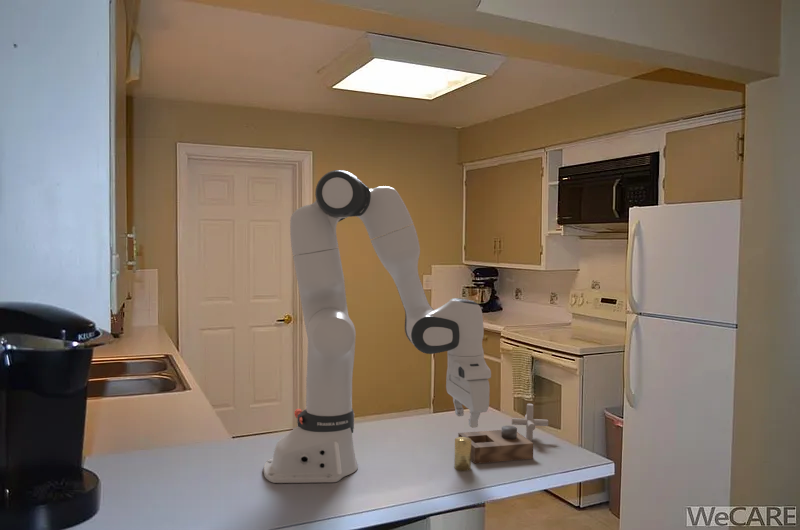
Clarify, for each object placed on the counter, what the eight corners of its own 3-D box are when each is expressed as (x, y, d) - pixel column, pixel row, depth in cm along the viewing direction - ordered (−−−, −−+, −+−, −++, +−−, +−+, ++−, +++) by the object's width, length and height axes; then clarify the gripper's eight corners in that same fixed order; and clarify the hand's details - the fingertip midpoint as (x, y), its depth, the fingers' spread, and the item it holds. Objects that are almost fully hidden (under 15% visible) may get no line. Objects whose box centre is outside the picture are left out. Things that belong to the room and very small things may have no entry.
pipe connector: (544, 434, 174) (545, 400, 174) (550, 446, 164) (550, 410, 164) (509, 433, 175) (510, 399, 175) (512, 444, 165) (513, 408, 165)
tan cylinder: (457, 471, 145) (458, 442, 145) (452, 465, 149) (452, 437, 149) (473, 470, 146) (473, 441, 146) (467, 464, 150) (467, 436, 150)
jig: (474, 463, 151) (475, 438, 151) (458, 447, 162) (458, 424, 162) (533, 458, 155) (533, 434, 155) (512, 443, 166) (513, 420, 166)
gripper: (439, 357, 156) (440, 410, 157) (468, 374, 136) (468, 435, 137) (462, 356, 158) (463, 408, 158) (494, 372, 138) (494, 432, 139)
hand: (466, 421), depth 147 cm, fingers open, 8 cm apart
